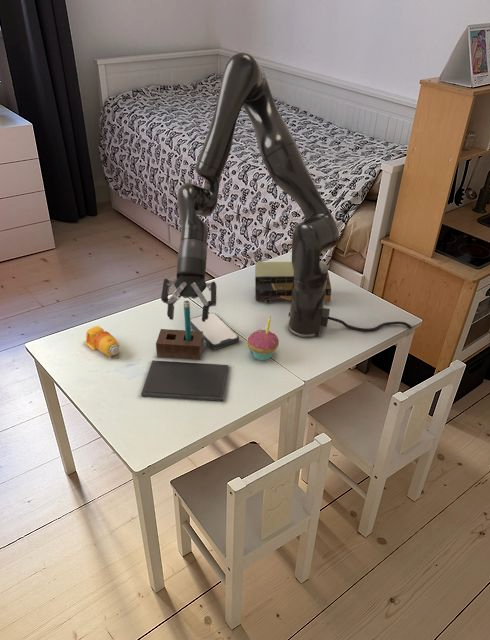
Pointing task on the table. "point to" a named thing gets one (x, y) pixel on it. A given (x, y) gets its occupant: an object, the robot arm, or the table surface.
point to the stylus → (187, 320)
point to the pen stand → (179, 344)
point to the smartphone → (214, 331)
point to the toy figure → (101, 341)
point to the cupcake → (263, 343)
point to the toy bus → (277, 282)
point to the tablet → (185, 380)
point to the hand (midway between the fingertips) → (187, 320)
